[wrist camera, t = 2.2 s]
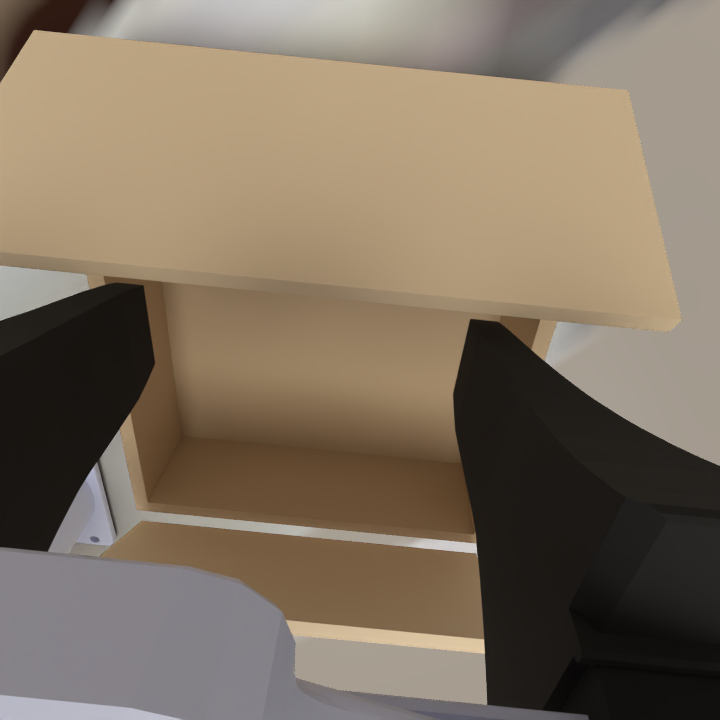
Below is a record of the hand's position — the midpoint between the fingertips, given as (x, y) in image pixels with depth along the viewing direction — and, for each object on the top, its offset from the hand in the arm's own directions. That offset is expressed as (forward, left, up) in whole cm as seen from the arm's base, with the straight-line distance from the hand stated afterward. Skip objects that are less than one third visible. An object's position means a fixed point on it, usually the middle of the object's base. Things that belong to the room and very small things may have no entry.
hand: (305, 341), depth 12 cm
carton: (0, -3, -8) cm, 9 cm away
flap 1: (0, +3, -1) cm, 4 cm away
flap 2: (0, -10, -1) cm, 10 cm away
